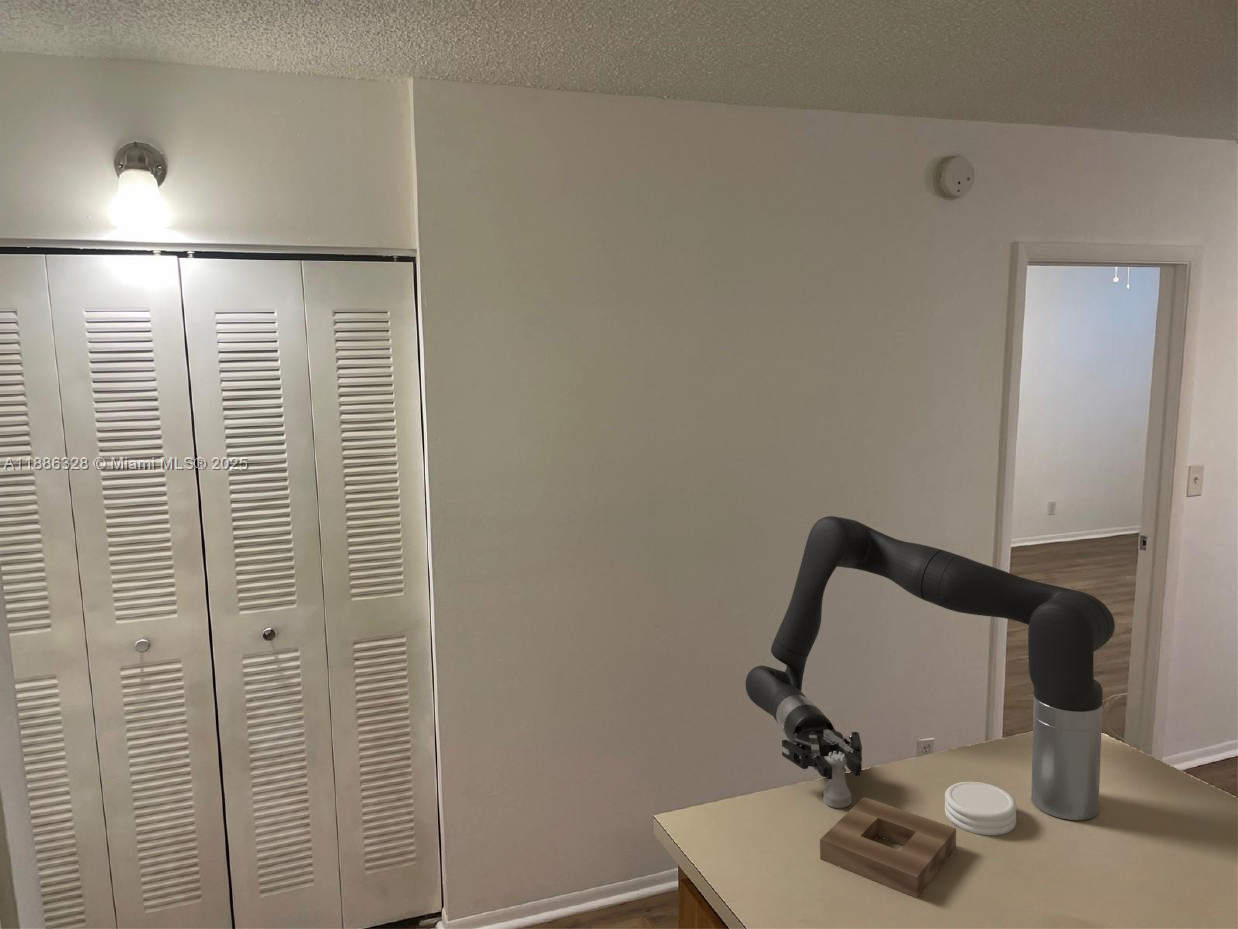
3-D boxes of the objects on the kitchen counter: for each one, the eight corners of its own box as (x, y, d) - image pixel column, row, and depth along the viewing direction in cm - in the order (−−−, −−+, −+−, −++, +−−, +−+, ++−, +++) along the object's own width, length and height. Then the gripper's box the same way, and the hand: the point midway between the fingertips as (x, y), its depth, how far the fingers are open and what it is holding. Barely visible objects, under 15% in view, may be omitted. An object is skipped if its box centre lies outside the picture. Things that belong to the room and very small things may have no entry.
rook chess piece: (852, 810, 131) (852, 762, 130) (823, 808, 132) (822, 761, 131) (850, 795, 135) (850, 748, 134) (822, 793, 136) (821, 747, 135)
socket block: (864, 815, 129) (863, 797, 129) (955, 847, 120) (956, 828, 120) (820, 858, 119) (819, 839, 119) (917, 898, 110) (917, 877, 109)
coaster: (1009, 804, 131) (1009, 783, 131) (1022, 841, 122) (1022, 818, 121) (941, 798, 134) (941, 777, 133) (948, 833, 124) (948, 811, 124)
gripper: (764, 708, 145) (799, 755, 128) (842, 699, 147) (887, 744, 130) (765, 749, 146) (800, 800, 129) (842, 740, 148) (887, 789, 131)
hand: (844, 772), depth 130 cm, fingers open, 4 cm apart
